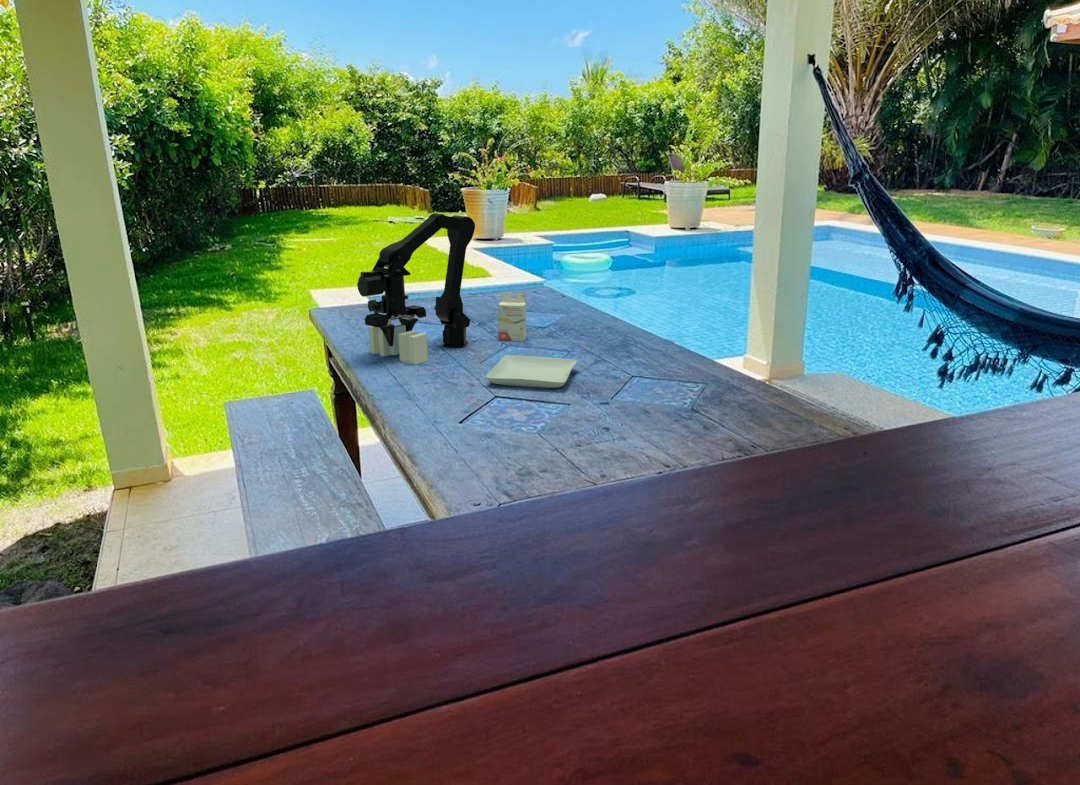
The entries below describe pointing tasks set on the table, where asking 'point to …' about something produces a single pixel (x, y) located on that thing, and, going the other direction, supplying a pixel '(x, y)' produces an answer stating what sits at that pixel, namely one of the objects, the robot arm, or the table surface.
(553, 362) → the salad plate
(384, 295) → the robot arm
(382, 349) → the domino
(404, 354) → the domino
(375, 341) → the domino
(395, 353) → the domino
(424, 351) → the domino
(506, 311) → the ink cartridge box
